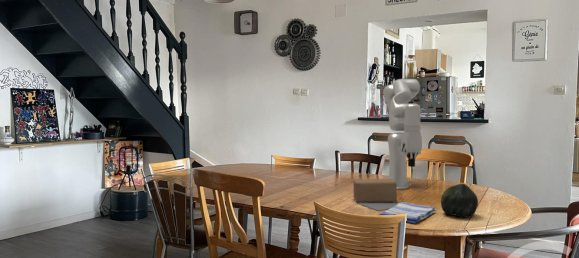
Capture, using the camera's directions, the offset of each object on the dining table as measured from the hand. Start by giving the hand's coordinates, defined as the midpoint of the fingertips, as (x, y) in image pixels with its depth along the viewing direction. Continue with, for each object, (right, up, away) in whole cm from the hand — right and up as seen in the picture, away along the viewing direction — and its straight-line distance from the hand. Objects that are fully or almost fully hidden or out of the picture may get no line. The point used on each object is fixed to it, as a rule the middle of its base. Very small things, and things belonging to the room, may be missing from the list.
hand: (411, 166), depth 213 cm
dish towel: (-9, -19, -26) cm, 34 cm away
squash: (+13, -19, -26) cm, 35 cm away
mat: (-16, -18, -8) cm, 25 cm away
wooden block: (-8, -12, +1) cm, 14 cm away
